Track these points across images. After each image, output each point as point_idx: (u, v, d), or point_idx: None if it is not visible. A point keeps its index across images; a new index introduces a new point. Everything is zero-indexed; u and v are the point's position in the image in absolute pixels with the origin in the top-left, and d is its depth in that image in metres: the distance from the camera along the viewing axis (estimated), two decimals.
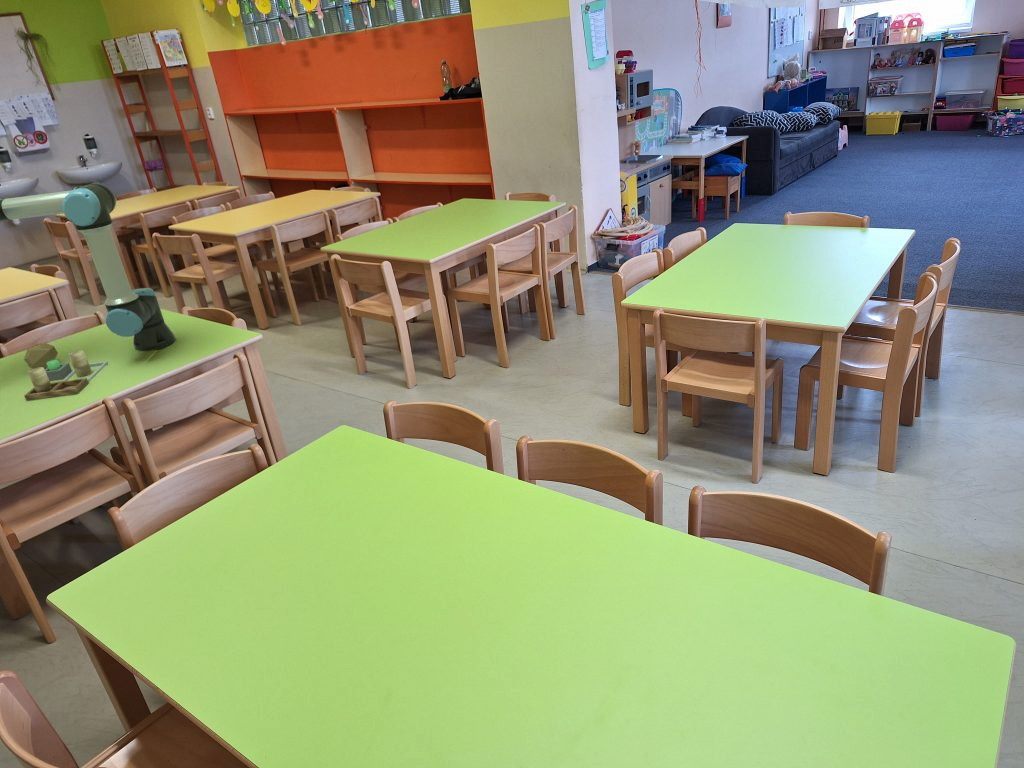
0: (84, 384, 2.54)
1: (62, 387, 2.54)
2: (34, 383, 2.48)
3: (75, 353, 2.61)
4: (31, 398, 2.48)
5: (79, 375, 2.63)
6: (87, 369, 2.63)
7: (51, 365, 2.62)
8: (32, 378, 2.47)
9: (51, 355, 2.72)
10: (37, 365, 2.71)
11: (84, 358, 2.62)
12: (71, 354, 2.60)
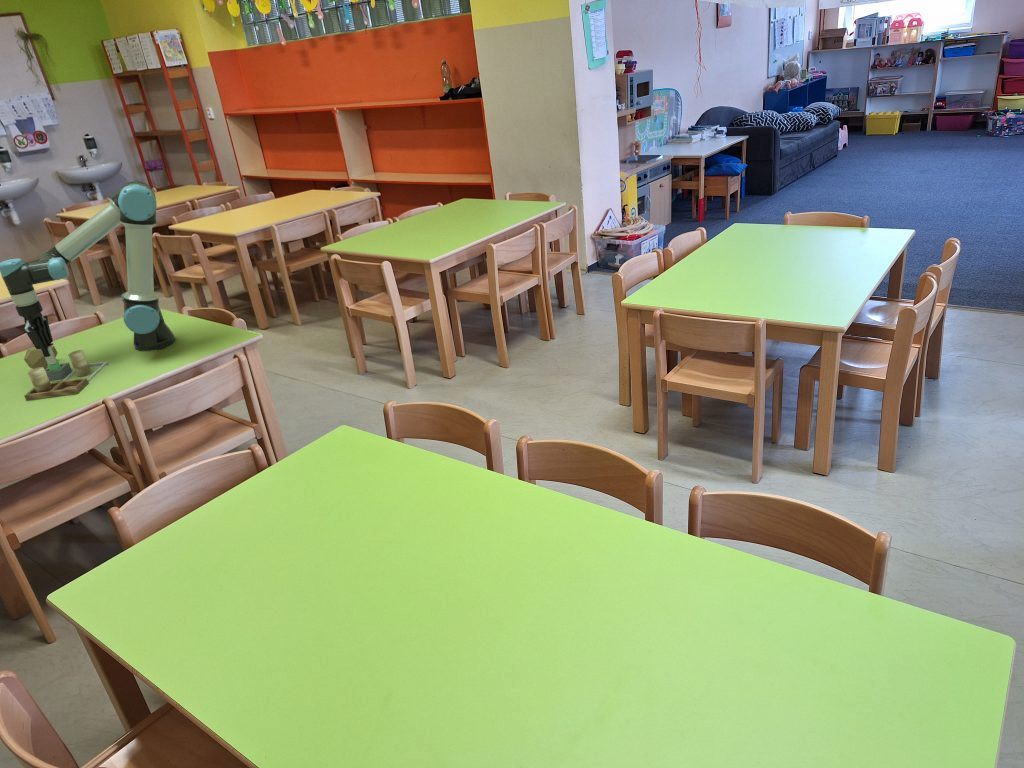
0: (84, 384, 2.54)
1: (62, 387, 2.54)
2: (34, 383, 2.48)
3: (75, 353, 2.61)
4: (31, 398, 2.48)
5: (79, 375, 2.63)
6: (87, 369, 2.63)
7: (52, 367, 2.62)
8: (32, 378, 2.47)
9: None
10: (37, 365, 2.71)
11: (84, 358, 2.62)
12: (71, 354, 2.60)
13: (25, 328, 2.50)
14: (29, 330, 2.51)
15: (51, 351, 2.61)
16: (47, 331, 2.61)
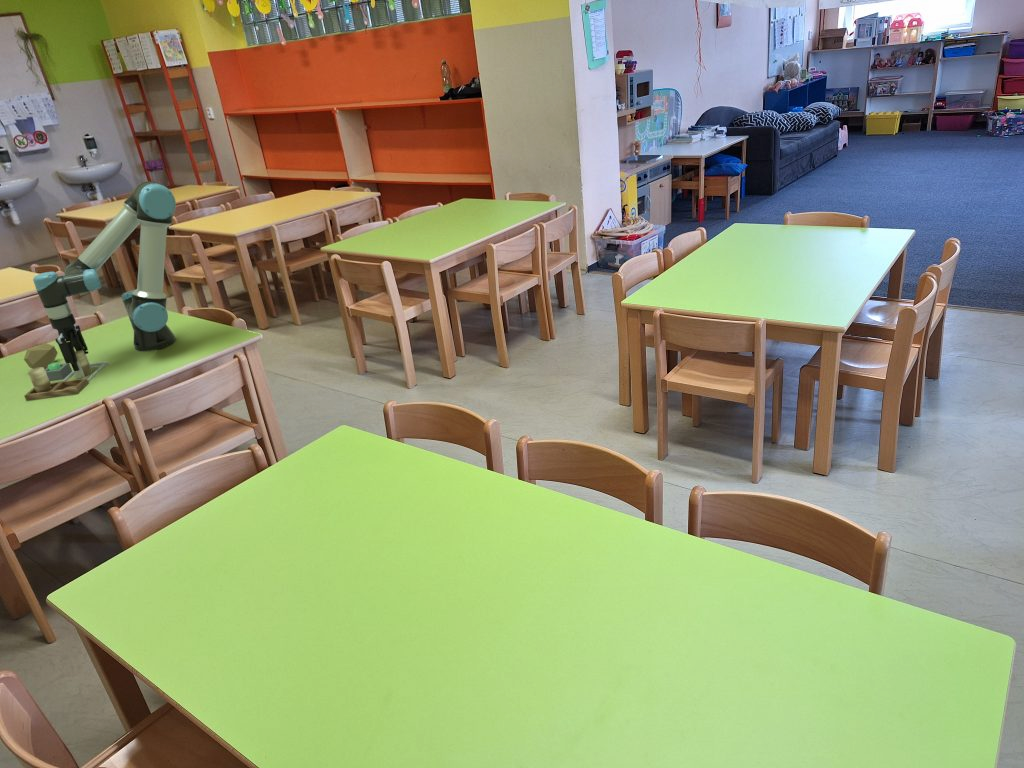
0: (84, 384, 2.54)
1: (62, 387, 2.54)
2: (34, 383, 2.48)
3: (75, 353, 2.61)
4: (31, 398, 2.48)
5: None
6: (87, 369, 2.63)
7: (52, 368, 2.62)
8: (32, 378, 2.47)
9: (51, 355, 2.72)
10: (37, 365, 2.71)
11: (84, 358, 2.62)
12: None
13: (58, 339, 2.52)
14: (61, 341, 2.52)
15: None
16: (81, 341, 2.65)
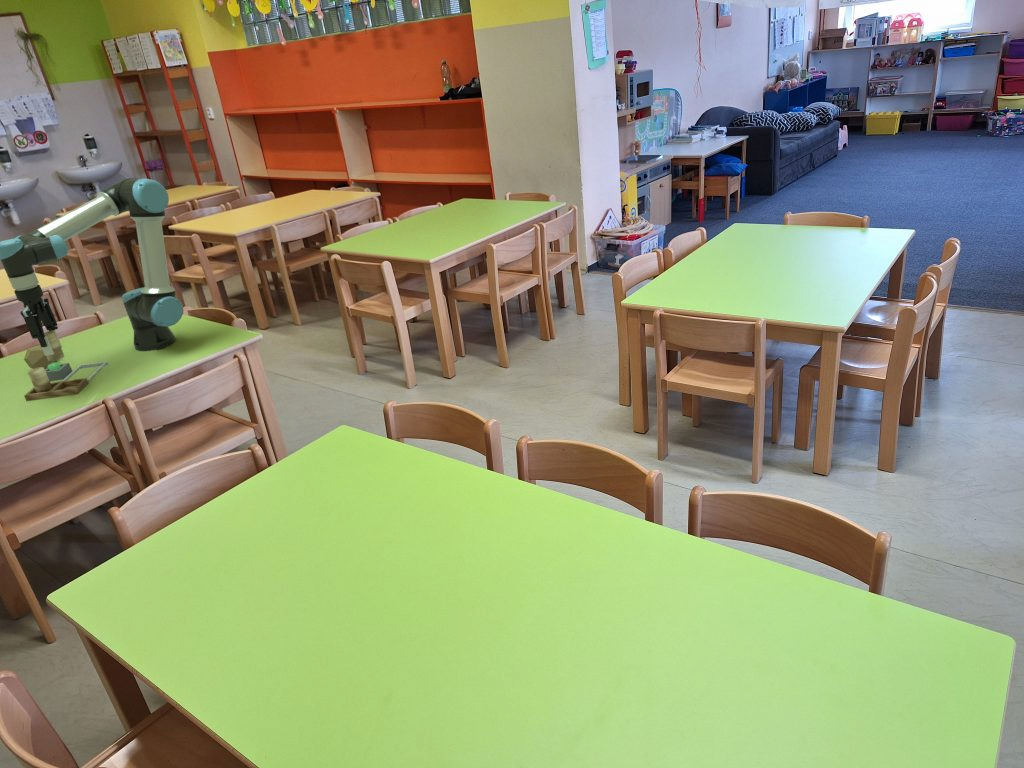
0: (84, 384, 2.54)
1: (62, 387, 2.54)
2: (34, 383, 2.48)
3: (45, 334, 2.43)
4: (31, 398, 2.48)
5: (50, 358, 2.44)
6: (59, 352, 2.45)
7: (52, 368, 2.62)
8: (32, 378, 2.47)
9: None
10: (37, 365, 2.71)
11: (55, 340, 2.44)
12: None
13: (23, 311, 2.33)
14: (27, 314, 2.33)
15: None
16: (50, 315, 2.45)
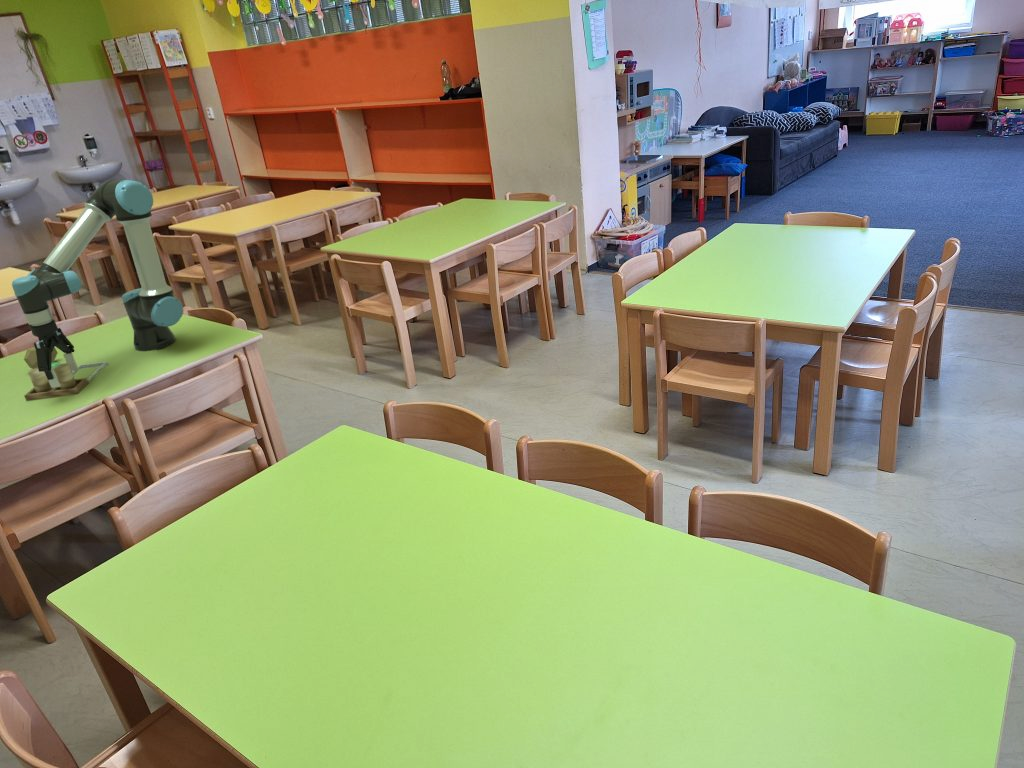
0: (84, 384, 2.54)
1: None
2: (34, 383, 2.48)
3: (59, 367, 2.48)
4: (31, 398, 2.48)
5: None
6: (73, 384, 2.51)
7: (52, 368, 2.62)
8: (32, 378, 2.47)
9: None
10: (37, 365, 2.71)
11: (69, 372, 2.49)
12: (55, 368, 2.48)
13: (36, 342, 2.38)
14: (40, 345, 2.37)
15: (72, 358, 2.54)
16: (66, 342, 2.52)
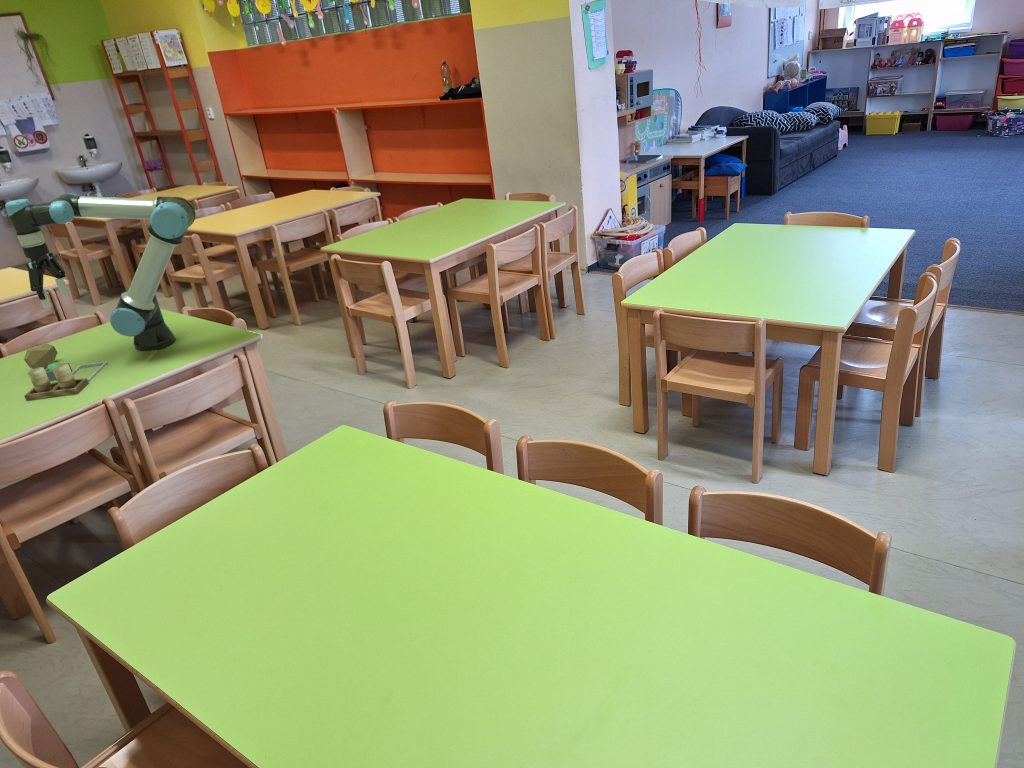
0: (84, 384, 2.54)
1: None
2: (34, 383, 2.48)
3: (60, 367, 2.48)
4: (31, 398, 2.48)
5: None
6: (73, 384, 2.51)
7: (52, 368, 2.62)
8: (32, 378, 2.47)
9: (51, 355, 2.72)
10: (37, 365, 2.71)
11: (69, 372, 2.49)
12: (55, 368, 2.47)
13: (29, 263, 2.50)
14: (32, 265, 2.49)
15: (63, 283, 2.66)
16: (57, 267, 2.64)
